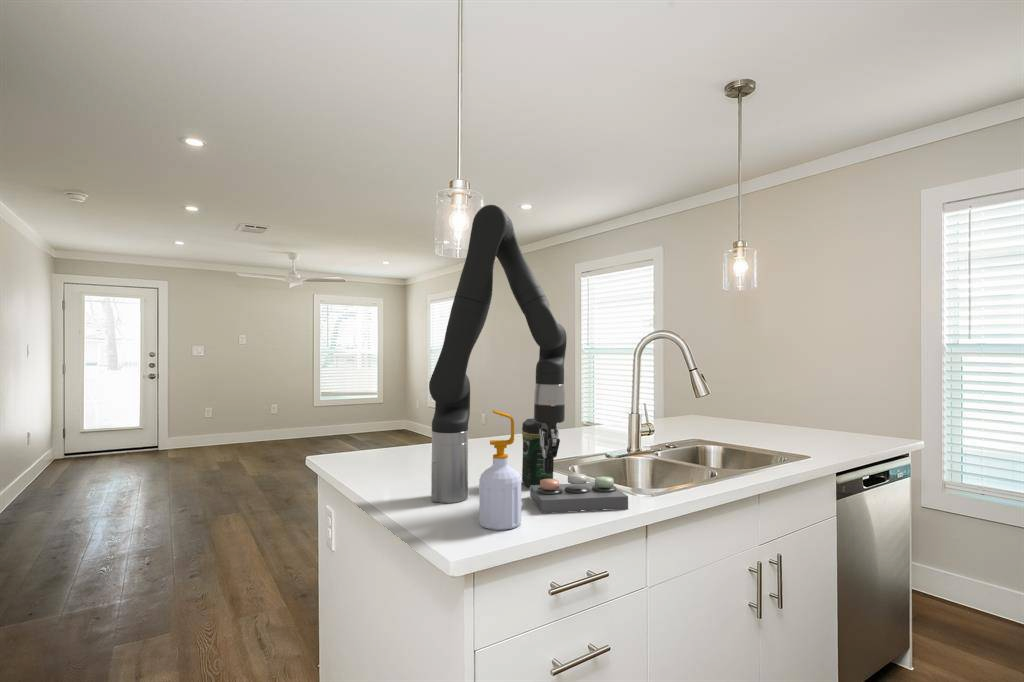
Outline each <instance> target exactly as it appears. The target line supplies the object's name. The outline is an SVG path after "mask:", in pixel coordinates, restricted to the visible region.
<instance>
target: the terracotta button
mask: <svg viewBox="0 0 1024 682" xmlns="http://www.w3.org/2000/svg"><path fill="white" fill-rule="evenodd" d="M559 484H560V480H558V479H555V478H553V479H542V480H540V488H541V489H545V490H555V489H558V488H559Z"/></svg>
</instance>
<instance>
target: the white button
mask: <svg viewBox="0 0 1024 682" xmlns="http://www.w3.org/2000/svg"><path fill="white" fill-rule="evenodd" d="M585 483H588V481H587V475H586V474H583V473H569V474H568V475H567V484H585Z"/></svg>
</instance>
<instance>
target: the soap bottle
mask: <svg viewBox="0 0 1024 682" xmlns="http://www.w3.org/2000/svg"><path fill="white" fill-rule="evenodd" d="M492 413H493V414H495V415H499V416H500V417H501V416H502V417H505V418H507V419H509V420H510V437H509V439H494V440H493V439H492V440H489V445H491V446H493V448H494V449H496V453H495V454H494V453H493V454H492V465H490V467H488V468H487V469H485V470H484V471H483V472H482V473H481V474H480V477H479V479H478V480H479V482H478V483H479V485H478V486H479V491H478V492H479V495H478V496H479V499H478V501H479V502H478V503H479V505H478V507H479V512H478V513H479V514H478V515H479V517H478V518H479V521H478V522H479V524H480V526H481V527H483V528H485V529H488V530H493V531H506V530H507V529H508V530H512V529H515V528H517V527H519V526H520V525H521V522H522V476H521V474H520V473H519V472H518V471H517V470H516V469H515V468H513V467H512V466H510V465H509V455H508V454H506V453H505V449H507V447H508V446H510V445H512V444H514V441H515V420H514V418H513V417H512V415H510V414H509V413H506V412H502V411H500V410H496V409H493V410H492Z"/></svg>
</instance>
